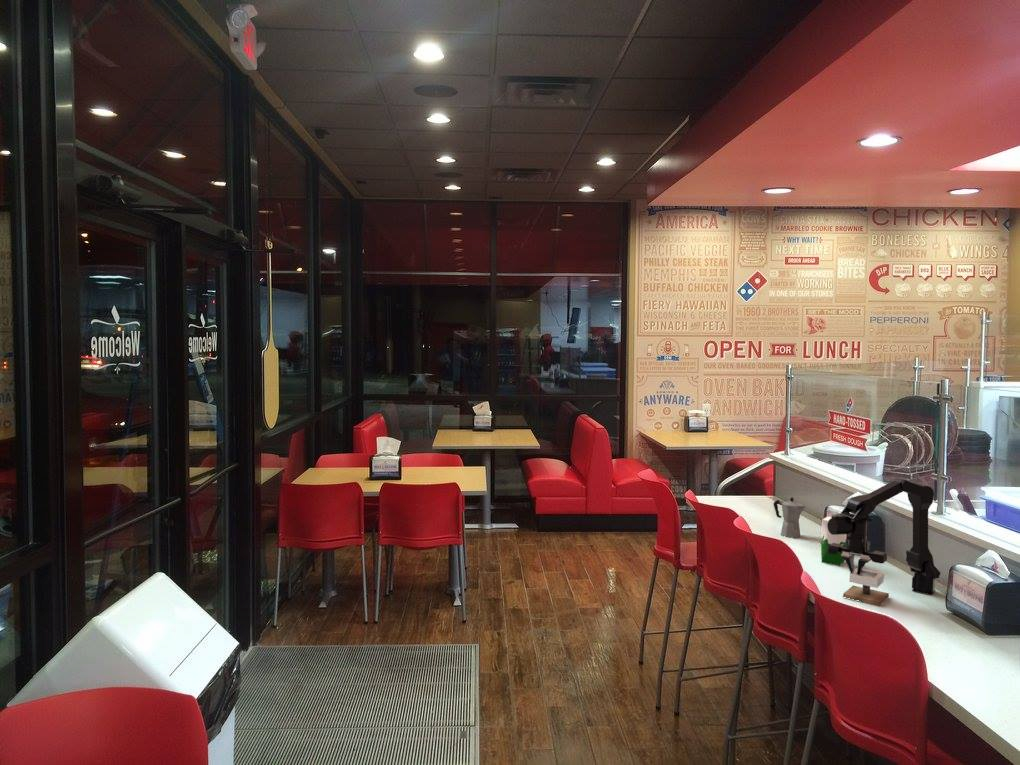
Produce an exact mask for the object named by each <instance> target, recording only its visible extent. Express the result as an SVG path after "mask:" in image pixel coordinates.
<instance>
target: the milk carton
mask: <svg viewBox="0 0 1020 765" xmlns="http://www.w3.org/2000/svg"><path fill="white" fill-rule="evenodd" d="M835 515H840V513H835ZM831 518H832V516H826V517H824V518H822V524H821V525H822V526H821V544H820V545H821V546H820V547H821V548H820V552H821V553H820V555H821V563H824V564H827V565H828V564H829V565H832V566H833V565H834V566H838V565H839V567H840V566H842V563H843V562H844V563H846V561H845V560H844V558H842V553H841V552H838V553H837V554H836V555H835V554H830V553H827V547H828V546H829V545H830V544H832V543H837V544H842V545H843V548H847V535H848V534H840V535H832V534H831V533H830V532H829V531H828V527H827V523H828V521H829V520H830V519H831ZM844 563H843V564H844Z"/></svg>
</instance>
